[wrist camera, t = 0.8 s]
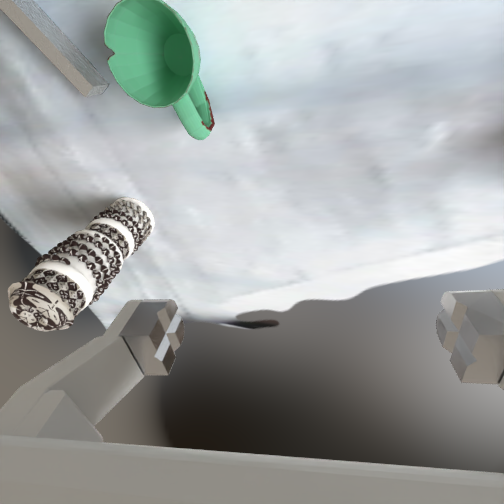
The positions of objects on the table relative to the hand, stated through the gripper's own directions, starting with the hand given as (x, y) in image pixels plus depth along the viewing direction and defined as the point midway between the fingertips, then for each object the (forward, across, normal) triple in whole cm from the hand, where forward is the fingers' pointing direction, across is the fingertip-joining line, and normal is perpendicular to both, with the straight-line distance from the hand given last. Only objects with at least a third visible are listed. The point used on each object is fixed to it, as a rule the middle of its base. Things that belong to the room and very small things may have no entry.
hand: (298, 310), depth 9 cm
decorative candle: (+39, +32, +13) cm, 52 cm away
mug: (+38, +14, -8) cm, 41 cm away
